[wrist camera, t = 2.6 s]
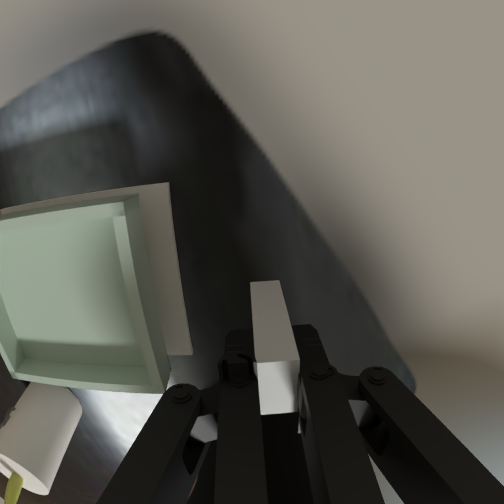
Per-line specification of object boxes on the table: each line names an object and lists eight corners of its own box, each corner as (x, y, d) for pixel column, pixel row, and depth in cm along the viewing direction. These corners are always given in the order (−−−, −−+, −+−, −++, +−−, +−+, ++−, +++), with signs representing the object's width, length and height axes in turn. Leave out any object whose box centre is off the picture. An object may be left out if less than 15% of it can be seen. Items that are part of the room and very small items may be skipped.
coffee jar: (180, 375, 24) (146, 590, 7) (312, 364, 24) (375, 577, 7) (203, 448, 28) (195, 606, 11) (308, 440, 28) (341, 596, 11)
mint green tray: (35, 349, 22) (12, 378, 18) (-6, 213, 18) (-41, 229, 14) (174, 354, 22) (165, 393, 18) (146, 189, 18) (123, 201, 14)
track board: (-31, 338, 23) (-33, 340, 22) (-66, 225, 18) (-69, 226, 18) (193, 351, 23) (192, 355, 23) (168, 182, 19) (167, 183, 19)
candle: (44, 365, 24) (-27, 484, 9) (93, 410, 26) (46, 534, 11) (21, 385, 25) (-40, 486, 10) (64, 425, 27) (20, 530, 12)
